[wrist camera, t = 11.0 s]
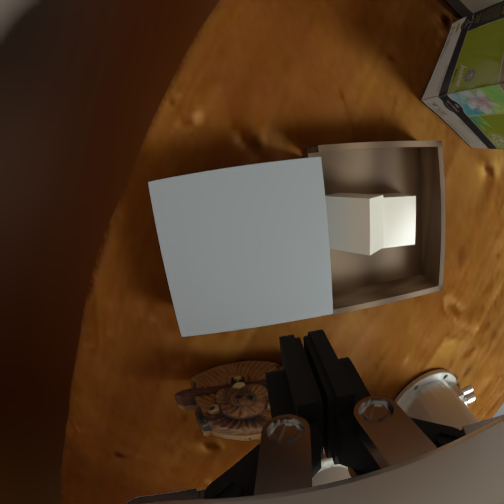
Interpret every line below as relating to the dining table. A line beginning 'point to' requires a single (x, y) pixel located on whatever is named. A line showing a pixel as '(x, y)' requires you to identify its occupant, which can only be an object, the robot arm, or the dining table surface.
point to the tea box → (472, 79)
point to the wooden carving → (230, 399)
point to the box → (381, 182)
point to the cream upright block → (355, 222)
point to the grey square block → (245, 245)
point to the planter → (470, 6)
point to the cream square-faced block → (399, 219)
